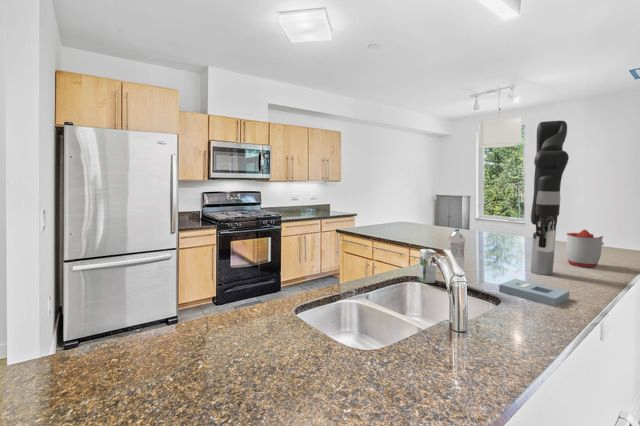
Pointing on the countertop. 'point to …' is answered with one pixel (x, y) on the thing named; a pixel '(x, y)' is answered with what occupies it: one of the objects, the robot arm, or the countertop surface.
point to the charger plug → (547, 242)
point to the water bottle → (457, 247)
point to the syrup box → (426, 266)
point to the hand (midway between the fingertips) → (544, 246)
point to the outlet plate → (534, 292)
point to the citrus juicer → (583, 249)
